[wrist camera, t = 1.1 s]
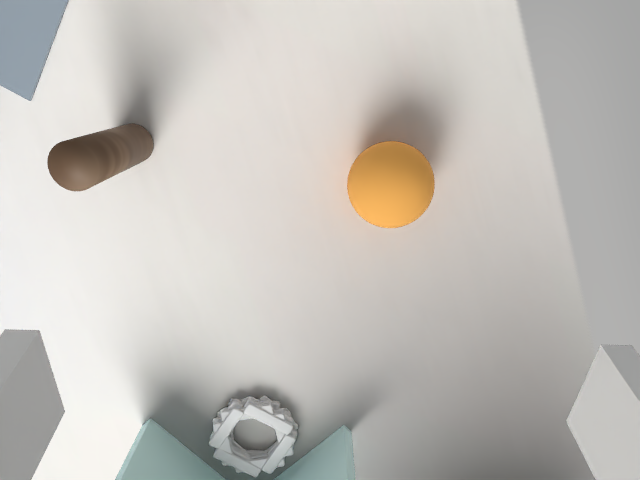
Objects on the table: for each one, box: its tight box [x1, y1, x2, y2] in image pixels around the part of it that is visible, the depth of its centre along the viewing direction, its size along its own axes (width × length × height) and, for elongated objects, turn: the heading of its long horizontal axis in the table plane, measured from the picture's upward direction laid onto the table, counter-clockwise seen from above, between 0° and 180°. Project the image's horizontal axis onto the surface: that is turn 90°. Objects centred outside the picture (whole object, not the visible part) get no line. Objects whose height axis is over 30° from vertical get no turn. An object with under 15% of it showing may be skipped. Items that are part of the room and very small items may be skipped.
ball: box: [347, 141, 434, 228], centre depth 33 cm, size 6×6×6 cm
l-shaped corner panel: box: [115, 395, 356, 480], centre depth 39 cm, size 12×12×8 cm
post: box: [48, 124, 153, 191], centre depth 31 cm, size 3×3×9 cm
